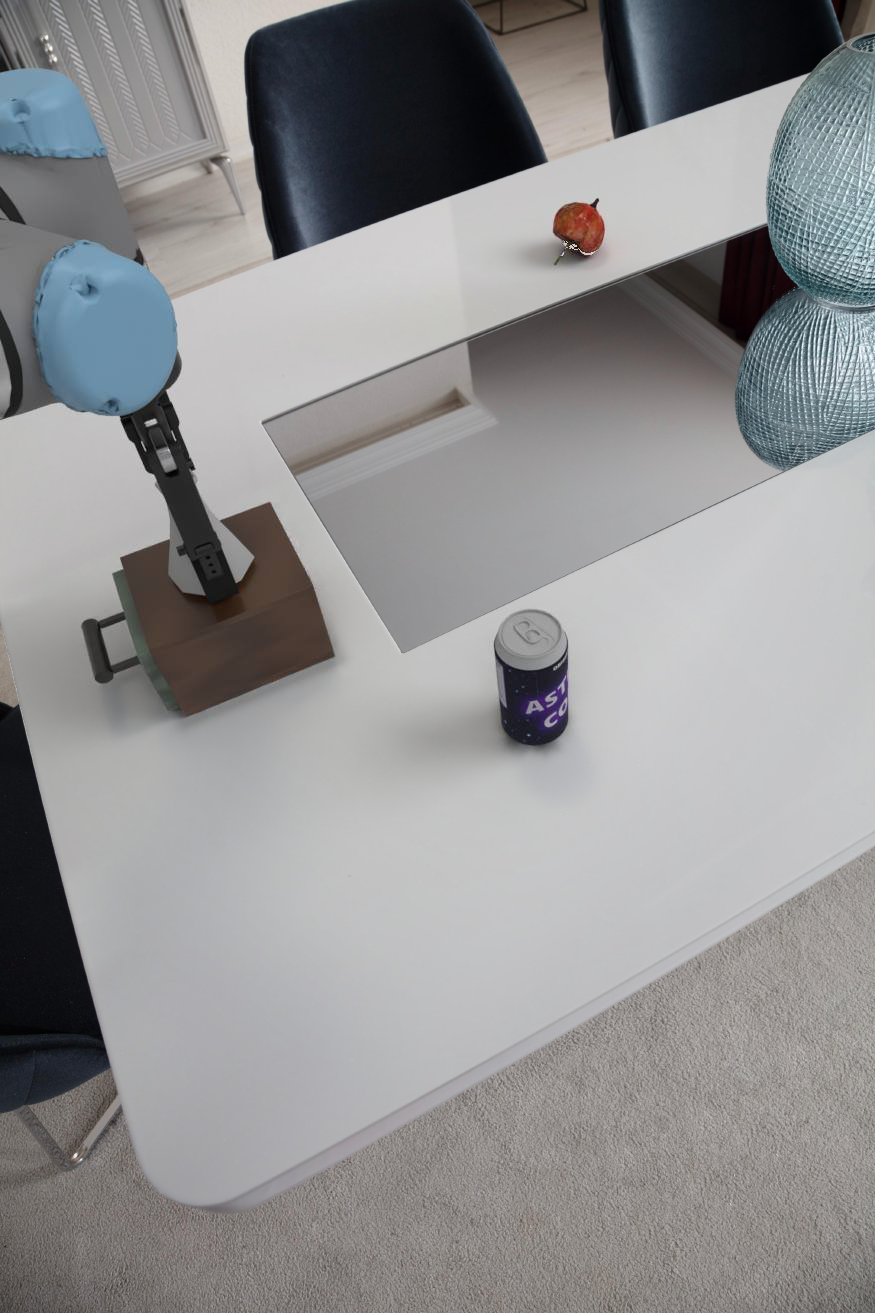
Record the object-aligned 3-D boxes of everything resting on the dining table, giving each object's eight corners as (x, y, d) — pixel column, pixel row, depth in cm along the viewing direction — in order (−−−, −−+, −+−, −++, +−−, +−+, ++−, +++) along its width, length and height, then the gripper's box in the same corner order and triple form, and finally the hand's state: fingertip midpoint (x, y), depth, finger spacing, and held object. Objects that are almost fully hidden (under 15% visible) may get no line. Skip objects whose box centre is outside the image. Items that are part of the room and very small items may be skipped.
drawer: (121, 731, 83) (86, 677, 77) (98, 646, 90) (64, 590, 84) (308, 655, 86) (288, 598, 80) (271, 578, 93) (251, 520, 87)
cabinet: (186, 717, 84) (149, 649, 77) (155, 626, 92) (119, 557, 84) (335, 656, 87) (313, 585, 79) (293, 572, 94) (270, 501, 87)
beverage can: (527, 763, 77) (521, 673, 68) (489, 718, 80) (478, 627, 71) (582, 729, 78) (583, 637, 69) (542, 686, 82) (538, 593, 72)
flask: (155, 579, 81) (111, 492, 74) (211, 529, 85) (175, 441, 77) (213, 609, 78) (175, 521, 70) (269, 556, 82) (238, 466, 74)
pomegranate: (581, 287, 127) (631, 225, 124) (549, 254, 122) (600, 188, 119) (555, 270, 132) (602, 210, 129) (524, 238, 127) (572, 175, 125)
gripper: (38, 284, 69) (145, 514, 87) (84, 426, 57) (199, 660, 74) (134, 254, 71) (221, 486, 88) (201, 386, 58) (286, 625, 76)
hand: (211, 565), depth 81 cm, fingers closed on flask, 7 cm apart
